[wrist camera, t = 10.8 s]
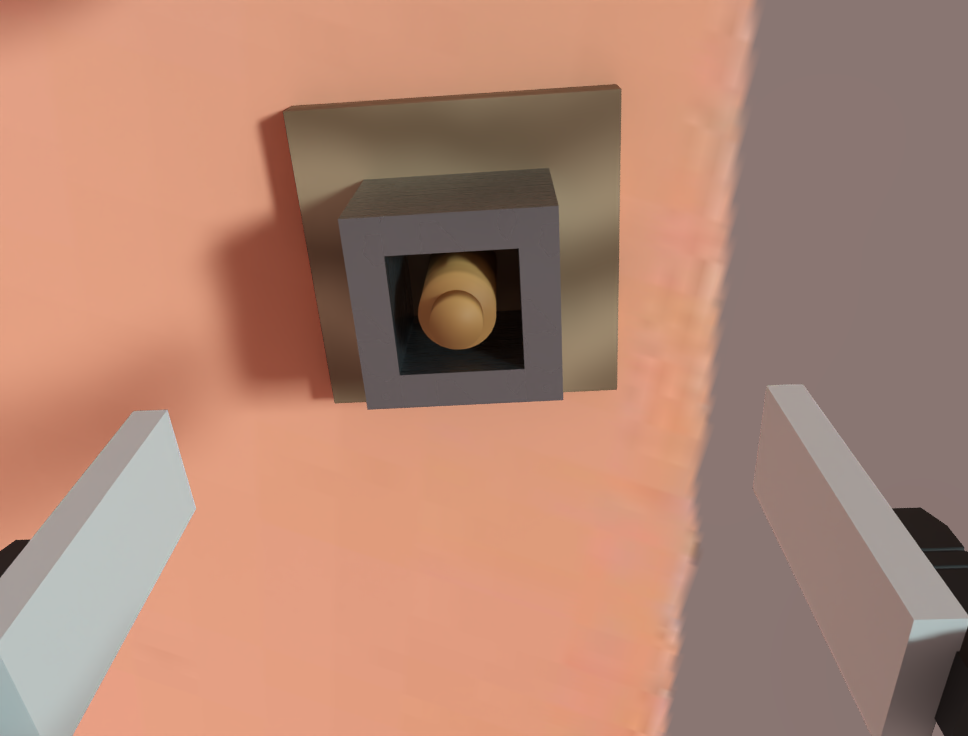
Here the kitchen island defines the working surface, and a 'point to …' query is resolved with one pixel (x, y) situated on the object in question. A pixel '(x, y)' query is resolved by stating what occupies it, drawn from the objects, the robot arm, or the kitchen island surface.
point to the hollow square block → (442, 229)
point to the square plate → (472, 274)
